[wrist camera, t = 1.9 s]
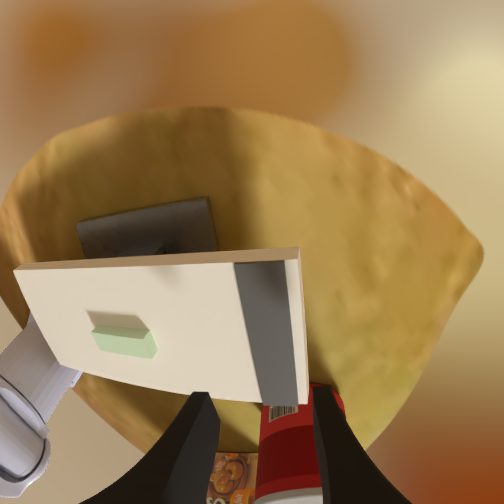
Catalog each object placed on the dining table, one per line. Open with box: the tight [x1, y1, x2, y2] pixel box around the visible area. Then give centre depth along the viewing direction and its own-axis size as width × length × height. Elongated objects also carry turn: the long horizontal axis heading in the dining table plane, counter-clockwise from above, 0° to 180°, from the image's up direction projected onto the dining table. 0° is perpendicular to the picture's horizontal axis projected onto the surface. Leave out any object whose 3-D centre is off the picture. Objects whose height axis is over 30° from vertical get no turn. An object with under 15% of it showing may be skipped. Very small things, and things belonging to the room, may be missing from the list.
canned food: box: [254, 383, 346, 504], centre depth 20 cm, size 8×8×11 cm
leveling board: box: [13, 247, 309, 407], centre depth 16 cm, size 20×9×3 cm, turn 99°
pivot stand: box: [75, 196, 219, 259], centre depth 19 cm, size 10×12×4 cm
